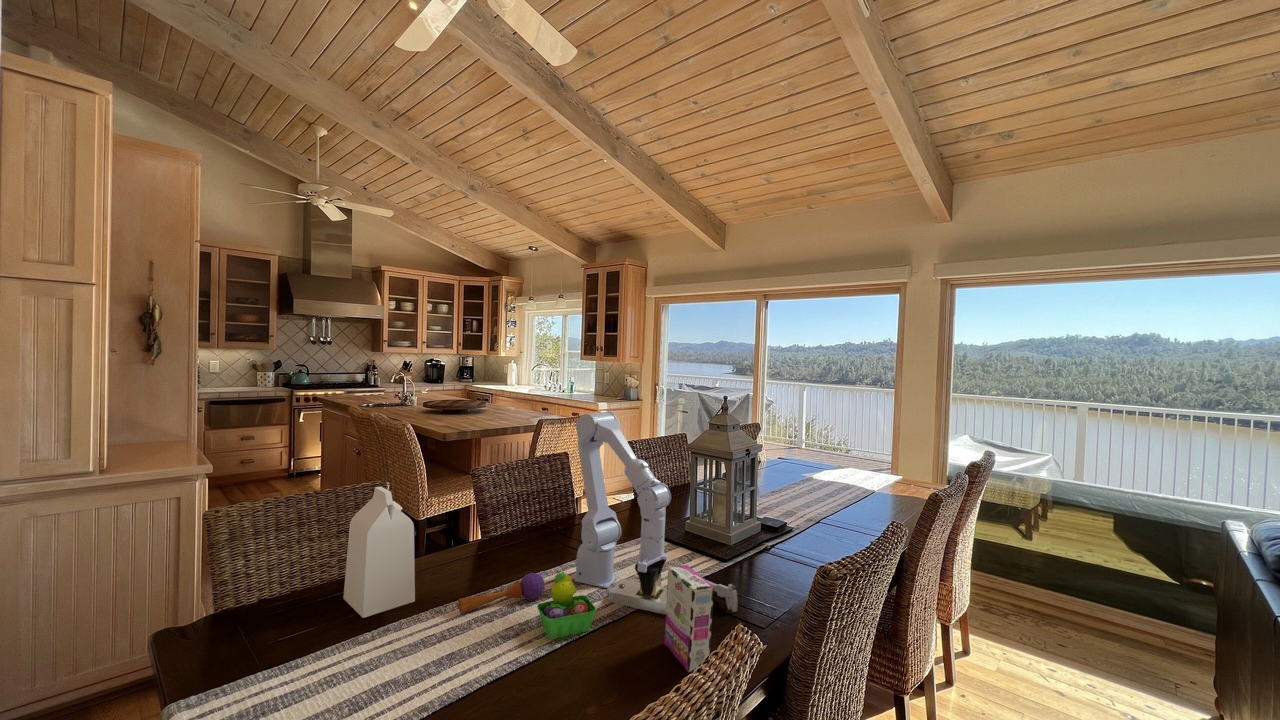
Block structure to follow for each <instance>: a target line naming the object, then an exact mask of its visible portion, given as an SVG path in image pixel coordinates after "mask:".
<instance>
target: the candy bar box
mask: <svg viewBox="0 0 1280 720" xmlns="http://www.w3.org/2000/svg"><path fill="white" fill-rule="evenodd" d="M667 569H668V570H667V571H668V572H667V584H666V585H667V587H666V588H667V602H666V615H665V619H664V620H665V621H664V622H665V623H664V646H666V647H667V649H668V650H669V652H671V653H672V655H673V656H674V657H675V659H677V661H678V662H679V663H680V664H681V665H682V667H683V668H684V669H685V671H687V672H688V673H693V672H692V671H693V670H694V669H695V668H697V667H698V666H699V665H700V664H701V663H702V662H703V661H704V660H705V659H706V658H707V657H708V656H709V655H710V656H711V641H712V639H711V638H712V623H713V605H714V592H715V591H714V586H713V585H711V584H710V583H709V582H708V581H709V580H707V579H705V578H704V577H702V576H701V575H700V574H699V573H698V572H696V571H695V570H694V569H693V568H691V566H689V565H688V564H686V565H677V566H671V567H667ZM706 580H707V581H706Z"/></svg>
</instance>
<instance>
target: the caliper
mask: <svg viewBox="0 0 1280 720" xmlns="http://www.w3.org/2000/svg"><path fill="white" fill-rule="evenodd" d="M705 580H706V581H708V582H709V583H710V584H711V585H713V586H714V591H713V592H715V593H717V595H716V596H718V597H720V598H725V602H726V607H727V610H729V611H730V610H731V611H732V612H731V613H735V612H738V600H739V599H738V591H737V590H736V585H735V584H734V585H733V584H732V583H730V584H729V583H728V585H727V586H726V585H723V584H721V583H719V584H717V583H714V582H713V581H710V580H707V579H705Z"/></svg>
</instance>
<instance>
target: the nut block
mask: <svg viewBox="0 0 1280 720" xmlns="http://www.w3.org/2000/svg"><path fill="white" fill-rule="evenodd" d="M661 587H662V574H656V577H655V580H654V585H653V591H652V594H651V595H645V594H643V593H642V589H641V583H640V596H643V597H648V598H652V599H657V598H658V597H659V596H660V591H661Z"/></svg>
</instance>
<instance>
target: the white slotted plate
mask: <svg viewBox="0 0 1280 720" xmlns="http://www.w3.org/2000/svg"><path fill="white" fill-rule="evenodd" d="M608 592H609V593H608V602H609V603H611V602H613V603H612V604H617V605H620V604H621V606H625V605H626V606H625V607H629V606H630V608H634V609H638V610H642V611H648V612H653V613H656V614H661V615H665V616H666V602H667V587H664V586H661V591H660V596H659V597H658V598H657V599H652V598H648V597H643V596H640V581H635V580H634V581H633V580H629V579H625V578H621V579H619V581H618V582H617V583H615V584H614V586H613V587H612V588H611V589H610V591H608Z"/></svg>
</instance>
